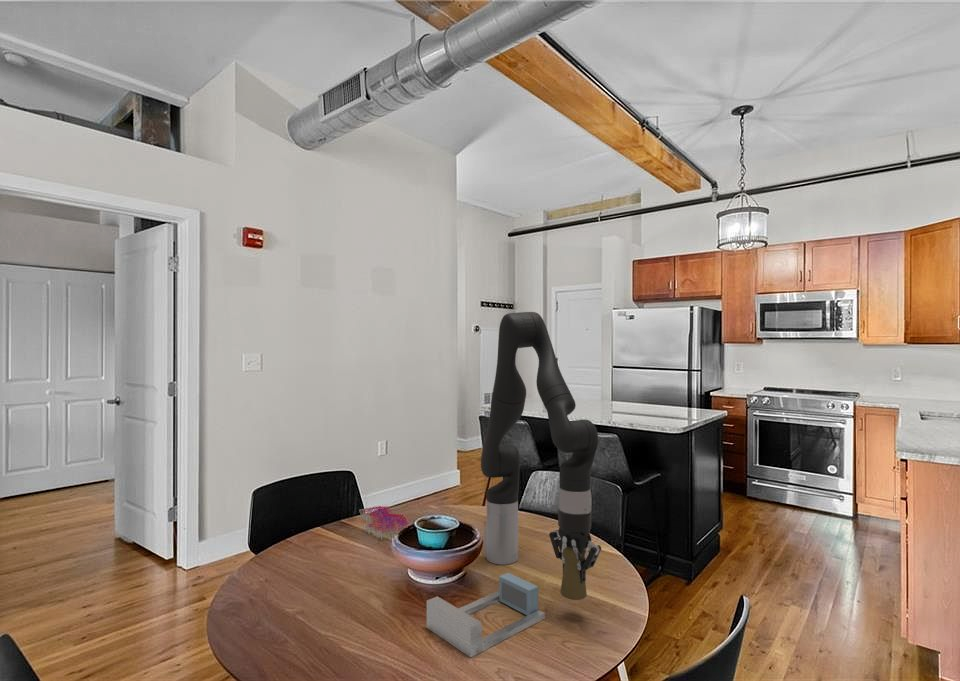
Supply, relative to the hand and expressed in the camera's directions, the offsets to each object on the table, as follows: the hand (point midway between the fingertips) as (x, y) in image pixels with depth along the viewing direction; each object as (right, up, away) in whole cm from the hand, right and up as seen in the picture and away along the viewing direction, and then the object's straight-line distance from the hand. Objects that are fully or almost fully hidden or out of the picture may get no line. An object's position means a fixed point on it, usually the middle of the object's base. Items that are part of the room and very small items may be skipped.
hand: (574, 581), depth 121 cm
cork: (0, -3, 0) cm, 3 cm away
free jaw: (-13, -8, +4) cm, 16 cm away
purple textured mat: (-55, -9, +61) cm, 83 cm away
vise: (-20, -8, -2) cm, 22 cm away
